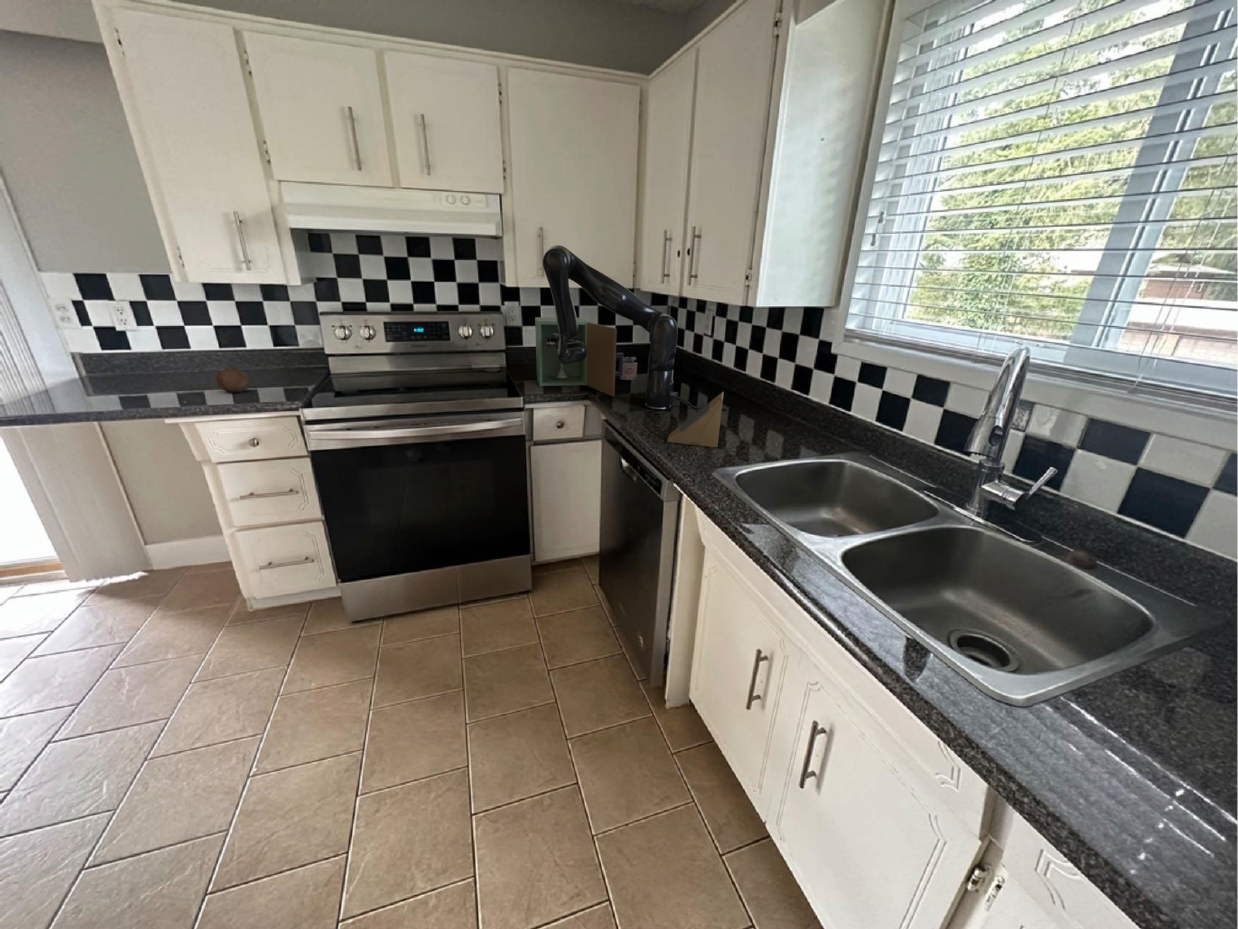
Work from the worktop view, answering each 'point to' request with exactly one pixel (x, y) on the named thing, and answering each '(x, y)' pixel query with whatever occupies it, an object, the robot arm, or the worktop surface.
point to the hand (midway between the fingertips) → (560, 339)
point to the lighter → (629, 369)
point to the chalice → (560, 373)
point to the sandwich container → (701, 426)
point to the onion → (232, 380)
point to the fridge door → (602, 358)
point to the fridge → (549, 358)
